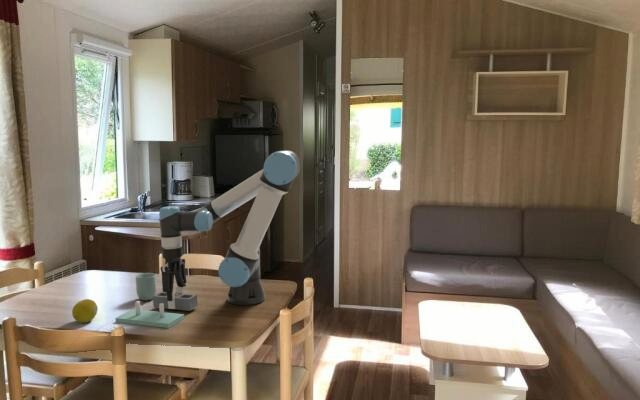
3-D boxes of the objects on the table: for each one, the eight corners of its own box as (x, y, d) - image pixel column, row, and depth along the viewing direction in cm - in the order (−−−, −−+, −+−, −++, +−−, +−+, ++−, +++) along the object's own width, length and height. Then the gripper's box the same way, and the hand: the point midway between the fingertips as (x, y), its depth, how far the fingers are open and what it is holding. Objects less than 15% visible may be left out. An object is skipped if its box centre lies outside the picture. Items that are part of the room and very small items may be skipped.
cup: (150, 302, 208) (149, 278, 207) (133, 301, 210) (131, 277, 209) (160, 296, 216) (159, 273, 215) (143, 295, 218) (142, 272, 216)
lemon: (85, 327, 182) (83, 305, 181) (66, 325, 184) (64, 303, 183) (105, 317, 192) (104, 296, 191) (87, 315, 194) (86, 294, 193)
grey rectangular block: (197, 305, 200) (196, 293, 200) (190, 310, 195) (189, 297, 195) (161, 302, 205) (161, 290, 204) (153, 307, 200) (152, 294, 199)
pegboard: (184, 318, 190) (183, 301, 189) (169, 328, 181) (168, 310, 180) (133, 312, 196) (132, 296, 196) (115, 322, 187) (114, 304, 186)
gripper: (176, 241, 207) (180, 297, 210) (148, 252, 189) (153, 313, 192) (193, 242, 205) (197, 298, 208) (166, 252, 187) (171, 314, 190)
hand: (176, 305), depth 200 cm, fingers closed on grey rectangular block, 5 cm apart
